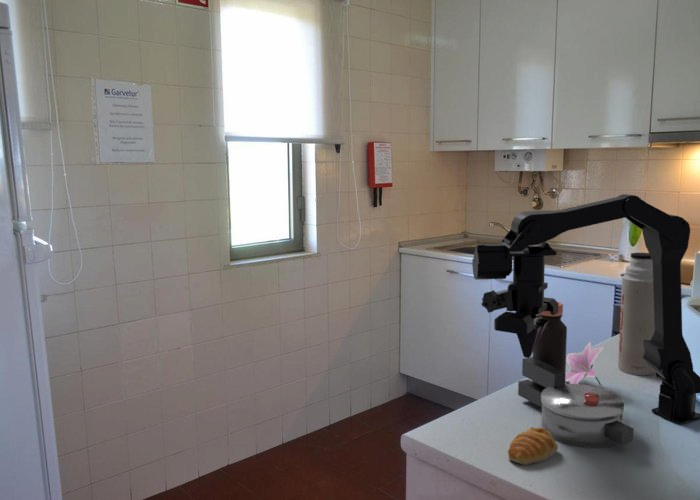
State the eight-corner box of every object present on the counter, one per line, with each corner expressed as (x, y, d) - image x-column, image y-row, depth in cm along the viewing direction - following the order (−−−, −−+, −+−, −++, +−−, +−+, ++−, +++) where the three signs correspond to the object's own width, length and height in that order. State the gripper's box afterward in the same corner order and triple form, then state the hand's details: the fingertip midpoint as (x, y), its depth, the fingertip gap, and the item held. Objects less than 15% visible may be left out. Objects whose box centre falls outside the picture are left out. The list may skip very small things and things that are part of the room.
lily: (569, 376, 140) (552, 344, 138) (620, 364, 134) (603, 331, 132) (567, 410, 130) (549, 377, 128) (622, 399, 124) (604, 364, 122)
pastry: (533, 473, 97) (533, 451, 96) (497, 459, 102) (497, 438, 101) (560, 452, 103) (560, 432, 103) (525, 440, 108) (525, 420, 108)
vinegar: (542, 384, 133) (544, 298, 130) (570, 393, 128) (573, 303, 125) (525, 393, 129) (527, 303, 125) (554, 402, 124) (557, 309, 120)
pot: (548, 393, 128) (548, 371, 127) (655, 445, 104) (656, 418, 104) (496, 405, 123) (496, 382, 122) (596, 463, 99) (597, 435, 98)
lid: (555, 369, 127) (555, 353, 127) (642, 411, 106) (643, 391, 105) (498, 380, 123) (498, 362, 122) (577, 426, 101) (578, 405, 100)
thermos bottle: (614, 371, 140) (619, 254, 135) (622, 361, 146) (627, 249, 142) (652, 378, 135) (658, 257, 131) (657, 367, 141) (664, 252, 137)
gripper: (506, 266, 125) (505, 338, 127) (468, 283, 110) (467, 363, 112) (560, 271, 118) (558, 346, 120) (526, 289, 103) (525, 374, 106)
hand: (527, 356), depth 115 cm, fingers closed
